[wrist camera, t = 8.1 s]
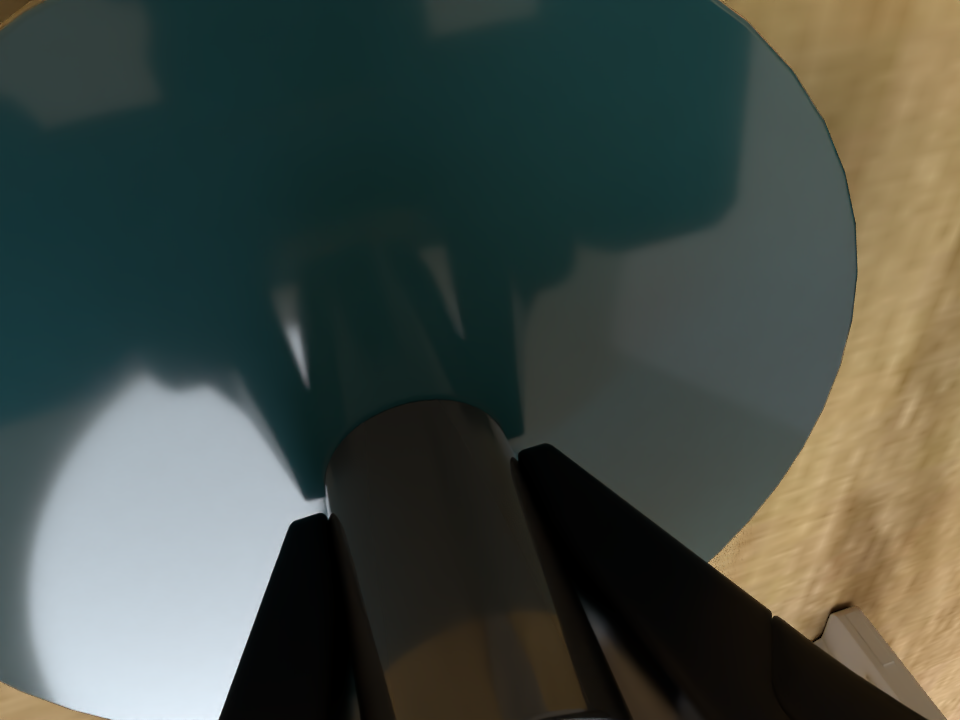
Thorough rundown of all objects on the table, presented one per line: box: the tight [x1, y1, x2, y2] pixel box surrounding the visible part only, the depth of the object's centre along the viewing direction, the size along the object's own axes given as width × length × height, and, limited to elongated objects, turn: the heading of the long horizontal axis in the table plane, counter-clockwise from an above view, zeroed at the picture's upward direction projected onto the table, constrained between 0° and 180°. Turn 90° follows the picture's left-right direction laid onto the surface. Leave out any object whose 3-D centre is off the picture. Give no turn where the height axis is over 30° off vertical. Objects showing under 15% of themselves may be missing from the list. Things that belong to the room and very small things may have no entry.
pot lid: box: [0, 0, 857, 720], centre depth 8 cm, size 12×12×5 cm
